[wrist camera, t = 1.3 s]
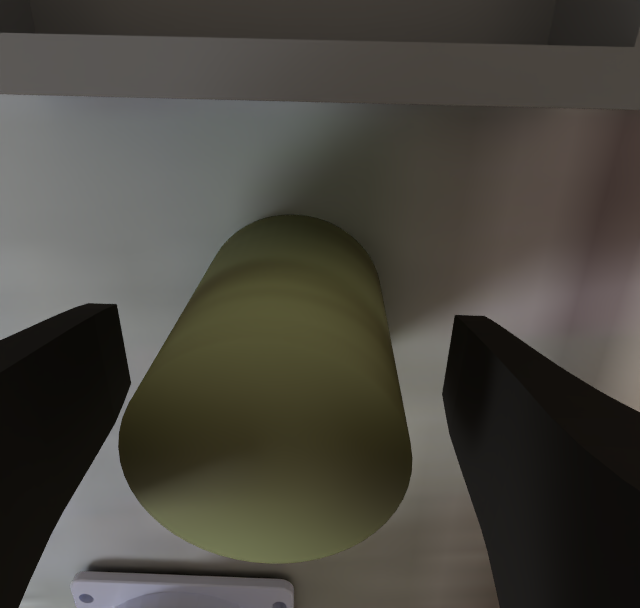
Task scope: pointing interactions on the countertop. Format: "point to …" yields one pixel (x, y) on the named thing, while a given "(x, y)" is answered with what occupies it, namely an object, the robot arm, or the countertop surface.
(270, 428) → the green cylinder
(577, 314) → the countertop surface
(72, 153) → the countertop surface
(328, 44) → the bin
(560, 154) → the countertop surface
